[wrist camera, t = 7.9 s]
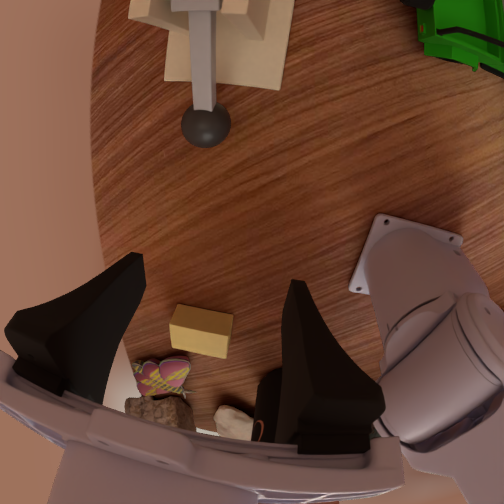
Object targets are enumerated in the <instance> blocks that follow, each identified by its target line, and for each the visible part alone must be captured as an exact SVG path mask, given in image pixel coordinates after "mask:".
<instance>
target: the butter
mask: <svg viewBox="0 0 504 504" xmlns="http://www.w3.org/2000/svg"><path fill="white" fill-rule="evenodd" d="M232 323H233V315H232V314H227V313H222V312H216V311H211V310H206V309H201V308H196V307H192V306H187V305H182V304H177V307H176V309H175V311H174V314H173V316H172V319H171V321H170V323H169V326H170V335H171V343H172V347H173V348H177V349H181V350H186V351H190V352H194V353H199V354H204V355H209V356H213V357H218V358H224V359H226V357H227V352H228V348H229V343H230V338H231V331H232Z"/></svg>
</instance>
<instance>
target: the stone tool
mask: <svg viewBox="0 0 504 504" xmlns="http://www.w3.org/2000/svg"><path fill="white" fill-rule="evenodd" d="M214 420H215V421H216V428H217V433H218V434H219V436H220V437H226V438H232V439H239V440H247V441H251V435H252V428H253V420H254V419H253V418H251V417H249V416H248V415H247V414H245V413H244V412H243V411H240V410H238V409H236V408H234V407H230V406H228V405H221V406H219V407H218V410H217V411H216V413H215V415H214Z"/></svg>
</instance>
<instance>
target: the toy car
mask: <svg viewBox="0 0 504 504" xmlns="http://www.w3.org/2000/svg"><path fill="white" fill-rule="evenodd" d="M400 2H402V3H403V4H404V5H407V6H411V7H415V8H416V9H417V25H418V41H420V42H423V43H424V55H427V56H434V57H436V58H439V59H442V60H446V61H450V62H454V63H460V64H466V65H469V66H472V71H474V72H475V71H476V70H477V69H478V62H480V67H481V68H482V69H484V70H486V71H488V72H491V73H493V74H495V75H497V76H499V77H502V78H504V0H400Z"/></svg>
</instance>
